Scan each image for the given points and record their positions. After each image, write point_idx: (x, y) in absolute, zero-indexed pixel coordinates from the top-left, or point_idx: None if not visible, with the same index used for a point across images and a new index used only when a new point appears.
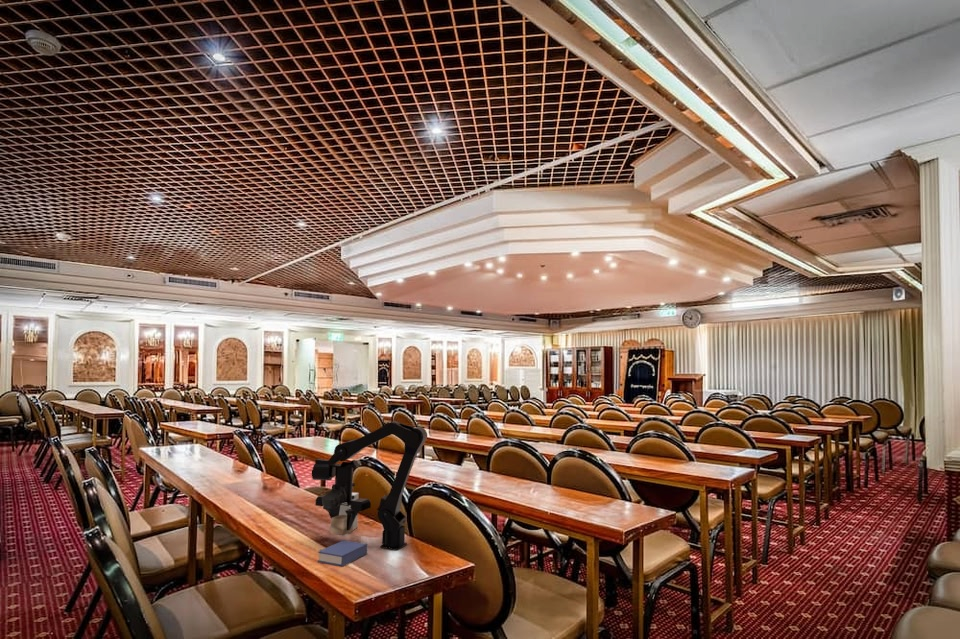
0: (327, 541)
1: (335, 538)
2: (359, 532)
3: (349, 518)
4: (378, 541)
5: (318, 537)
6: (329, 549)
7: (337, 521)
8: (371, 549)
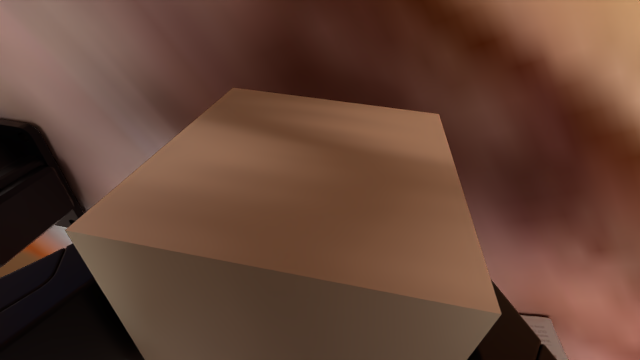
0: (494, 150)
1: None
2: None
3: (2, 286)
4: None
5: (624, 220)
6: None
7: (280, 215)
8: (46, 75)
